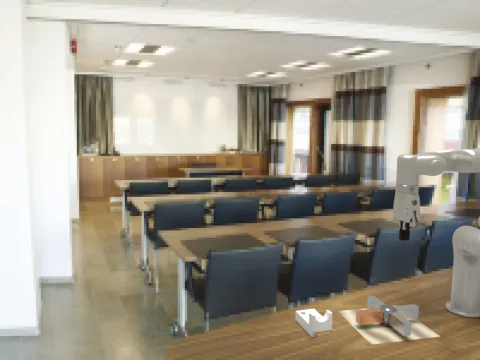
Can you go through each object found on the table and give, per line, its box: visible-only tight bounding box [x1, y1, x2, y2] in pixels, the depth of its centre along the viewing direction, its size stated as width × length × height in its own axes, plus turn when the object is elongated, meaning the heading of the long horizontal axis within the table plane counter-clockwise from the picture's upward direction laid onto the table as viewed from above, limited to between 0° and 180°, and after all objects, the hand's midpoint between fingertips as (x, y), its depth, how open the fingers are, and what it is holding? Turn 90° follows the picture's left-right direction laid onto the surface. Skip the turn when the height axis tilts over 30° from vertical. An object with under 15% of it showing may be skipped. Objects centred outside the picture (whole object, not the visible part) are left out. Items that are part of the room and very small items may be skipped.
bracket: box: [294, 308, 333, 338], centre depth 144 cm, size 13×7×8 cm, turn 17°
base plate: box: [337, 304, 441, 345], centre depth 145 cm, size 24×24×2 cm
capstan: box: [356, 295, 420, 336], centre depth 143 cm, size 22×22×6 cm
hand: (404, 239), depth 153 cm, fingers closed
